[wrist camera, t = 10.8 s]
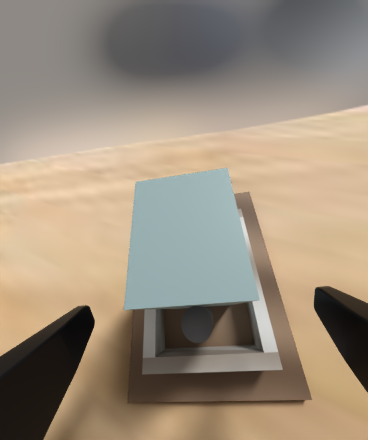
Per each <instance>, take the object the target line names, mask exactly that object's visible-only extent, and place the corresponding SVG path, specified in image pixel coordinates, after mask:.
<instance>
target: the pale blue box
mask: <svg viewBox="0 0 368 440" xmlns="http://www.w3.org/2000/svg"><path fill="white" fill-rule="evenodd" d="M258 300H260V299H259V295H258V291H257V287H256V283H255V279H254V274H253V270H252V266H251V262H250V258H249V254H248V250H247V246H246V242H245V237H244V233H243V229H242V225H241V221H240V217H239V213H238V209H237V205H236V200H235V196H234V192H233V188H232V184H231V180H230V176H229V172H228V168H223V169H216V170H210V171H204V172H197V173H191V174H184V175H178V176H171V177H165V178H159V179H152V180H146V181H139V182H136V184H135V195H134V206H133V216H132V227H131V238H130V249H129V260H128V270H127V281H126V292H125V303H124V310H142V309H183V308H188V309H187V310H186V311H185V313H184V314H183V316H182V320H181V327H182V331H183V333H184V335H185V337H186V338H187V339H188V340H190V341H191V342H194V343H201V342H204V341H206V340H207V339H208V338H209V337H210V335H211V333H212V329H213V313H212V311H211V310H210V309H209V308H207V307H212V306H226V305H234V304H240V303H246V302H252V301H258Z"/></svg>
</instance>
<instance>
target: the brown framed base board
mask: <svg viewBox="0 0 368 440" xmlns="http://www.w3.org/2000/svg"><path fill="white" fill-rule="evenodd" d="M234 196H235V200H236V205H237V209H238V213H239V217H240V221H241V225H242V229H243V233H244V237H245V242H246V246H247V250H248V254H249V258H250V262H251V266H252V270H253V274H254V279H255V283H256V287H257V291H258V295H259V299H260V300H258V301H252V302H246V303H240V304H234V305H226V306H212V307H207V308H209V309H210V310H211V311H212V313H213V329H212V333H211V335H210V337H209V338H208V339H207V340H206V341H204V342H201V343H194V342H191V341H190V340H188V339H187V338H186V337H185V335H184V333H183V331H182V327H181V320H182V316H183V314H184V313H185V311H186V310H187V309H188V308H183V309H142V310H134V313H133V328H132V343H131V359H130V374H129V389H128V402H195V401H262V400H312V398H311V395H310V391H309V388H308V385H307V382H306V378H305V375H304V372H303V368H302V365H301V362H300V358H299V355H298V352H297V348H296V345H295V342H294V338H293V335H292V332H291V329H290V325H289V322H288V319H287V315H286V312H285V309H284V305H283V302H282V299H281V295H280V292H279V289H278V286H277V282H276V279H275V276H274V272H273V269H272V266H271V262H270V259H269V256H268V252H267V249H266V246H265V242H264V239H263V236H262V233H261V229H260V226H259V223H258V219H257V216H256V213H255V209H254V206H253V203H252V199H251V196H250V193H249V192H244V193H237V194H234Z"/></svg>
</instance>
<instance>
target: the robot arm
mask: <svg viewBox="0 0 368 440" xmlns="http://www.w3.org/2000/svg"><path fill="white" fill-rule="evenodd" d="M314 308H315V311H316V313H317V315H318V316H319V318H320V320H321V321H322V323H323V325H324V327H325V328H326V330H327V332H328V333H329V335H330V337H331V338H332V340H333V342H334V343H335V345H336V347H337V348H338V350H339V352H340V353H341V355H342V357H343V358H344V360H345V361H346V363H347V364H348V366H349V367H350V368H351V370H352V371H353V373H354V374H355V376H356V377H357V378H358V380H359V381H360V383H361V384H362V385H363V387H364V388H365V390H366V391H367V392H368V303H366V302H364V301H361V300H359V299H357V298H355V297H352V296H350V295H348V294H346V293H343V292H341V291H339V290H337V289H334V288H332V287H329V286H323V287H317V288H316V289H315V295H314ZM94 324H95V320H94V317H93V315H92V312H91V309H90V307H89V306H87V305H85V306H78V307H76V308H74V309H73V310H71V311H70V312H68V313H67V314H65V315H63V316H62V317H60V318H59V319H57V320H56V321H54V322H53V323H51V324H50V325H48V326H47V327H45V328H43V329H42V330H40V331H39V332H37V333H36V334H34V335H33V336H31V337H30V338H28V339H27V340H25V341H23V342H22V343H20V344H19V345H17V346H16V347H14V348H13V349H11V350H10V351H8V352H6V353H5V354H3V355H2V356H0V440H43V439H44V437H45V435H46V433H47V431H48V429H49V427H50V424H51V422H52V420H53V418H54V416H55V414H56V412H57V410H58V408H59V406H60V404H61V402H62V400H63V398H64V396H65V393H66V391H67V389H68V387H69V385H70V383H71V381H72V379H73V377H74V375H75V373H76V370H77V368H78V366H79V363H80V361H81V358H82V356H83V353H84V351H85V348H86V346H87V343H88V341H89V338H90V336H91V333H92V331H93V328H94Z"/></svg>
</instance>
